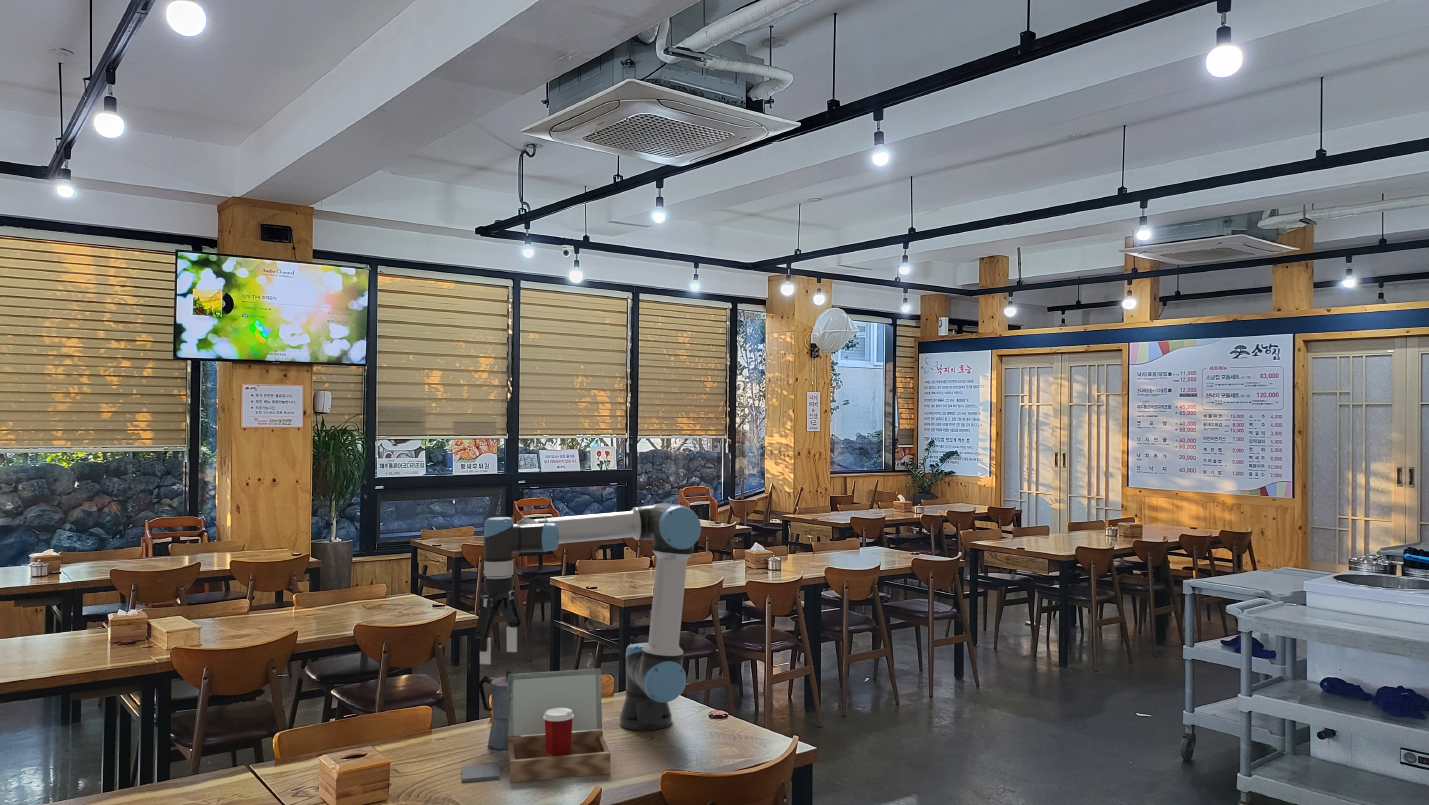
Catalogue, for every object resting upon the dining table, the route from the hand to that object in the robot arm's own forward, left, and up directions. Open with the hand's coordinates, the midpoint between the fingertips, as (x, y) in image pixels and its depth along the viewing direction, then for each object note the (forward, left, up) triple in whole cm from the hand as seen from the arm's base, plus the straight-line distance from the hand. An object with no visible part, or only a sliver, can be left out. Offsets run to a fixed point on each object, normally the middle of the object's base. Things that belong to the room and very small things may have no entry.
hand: (498, 657), depth 243 cm
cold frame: (-15, +12, -26) cm, 32 cm away
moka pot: (-2, -9, -26) cm, 28 cm away
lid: (-15, +2, -12) cm, 19 cm away
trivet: (+4, +12, -26) cm, 29 cm away
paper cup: (-15, +12, -26) cm, 32 cm away
